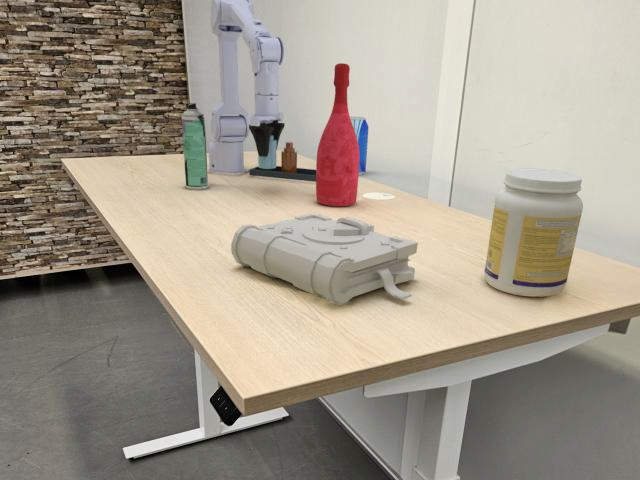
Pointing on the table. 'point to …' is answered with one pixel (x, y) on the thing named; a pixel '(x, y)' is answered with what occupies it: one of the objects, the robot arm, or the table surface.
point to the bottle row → (287, 160)
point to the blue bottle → (269, 156)
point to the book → (327, 256)
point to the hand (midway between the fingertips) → (267, 154)
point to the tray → (286, 174)
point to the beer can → (361, 140)
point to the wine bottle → (338, 150)
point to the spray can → (194, 148)
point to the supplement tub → (534, 232)
